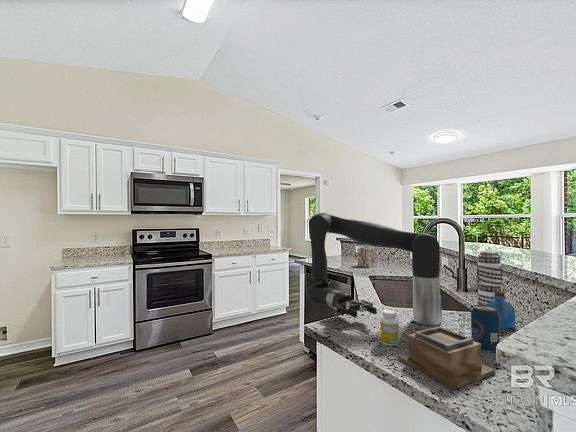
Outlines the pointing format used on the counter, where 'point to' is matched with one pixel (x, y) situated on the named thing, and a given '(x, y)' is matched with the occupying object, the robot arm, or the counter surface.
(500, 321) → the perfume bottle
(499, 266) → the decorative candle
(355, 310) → the robot arm
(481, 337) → the soda can
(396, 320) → the supplement bottle
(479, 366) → the display pedestal
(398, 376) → the counter surface
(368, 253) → the decorative jar
